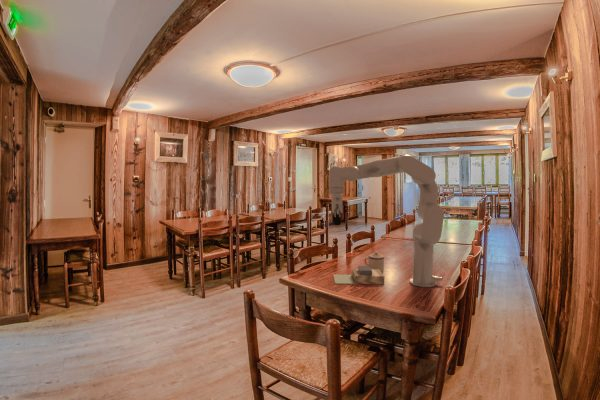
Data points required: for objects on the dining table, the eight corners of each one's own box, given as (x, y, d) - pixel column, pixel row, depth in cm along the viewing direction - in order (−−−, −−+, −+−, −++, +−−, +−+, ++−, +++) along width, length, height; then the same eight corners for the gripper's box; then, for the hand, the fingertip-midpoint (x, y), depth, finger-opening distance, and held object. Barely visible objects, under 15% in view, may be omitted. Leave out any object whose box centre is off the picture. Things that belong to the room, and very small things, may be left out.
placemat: (351, 275, 177) (351, 274, 177) (354, 284, 162) (354, 283, 162) (333, 275, 178) (333, 274, 178) (335, 284, 163) (335, 283, 163)
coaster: (369, 270, 174) (369, 265, 174) (372, 275, 165) (372, 270, 165) (358, 270, 174) (358, 265, 174) (360, 274, 165) (360, 270, 165)
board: (379, 276, 176) (379, 269, 175) (384, 284, 163) (384, 276, 162) (352, 275, 176) (352, 268, 176) (355, 283, 163) (355, 276, 163)
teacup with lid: (386, 270, 186) (386, 251, 185) (380, 274, 179) (380, 254, 178) (367, 267, 193) (367, 248, 193) (361, 270, 186) (361, 251, 185)
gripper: (345, 191, 153) (345, 226, 154) (342, 190, 171) (341, 221, 172) (330, 191, 154) (330, 226, 155) (328, 190, 171) (328, 221, 172)
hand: (336, 223), depth 163 cm, fingers open, 9 cm apart
